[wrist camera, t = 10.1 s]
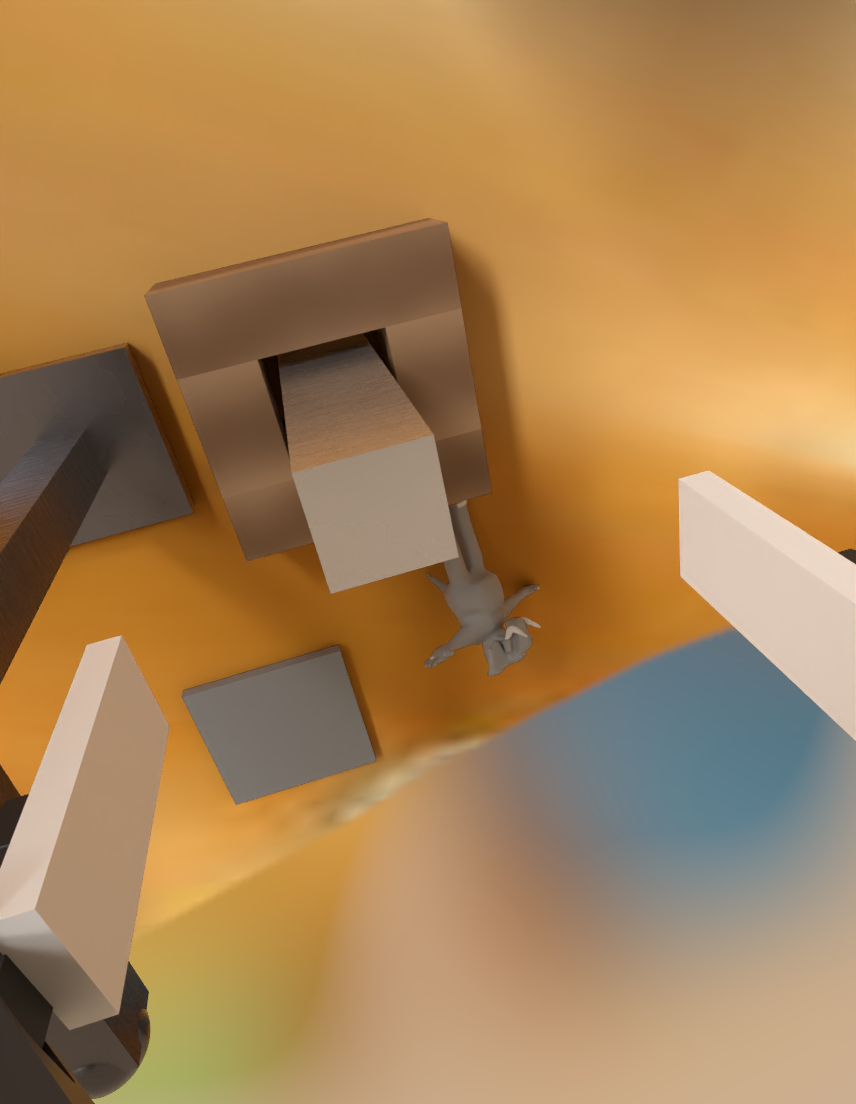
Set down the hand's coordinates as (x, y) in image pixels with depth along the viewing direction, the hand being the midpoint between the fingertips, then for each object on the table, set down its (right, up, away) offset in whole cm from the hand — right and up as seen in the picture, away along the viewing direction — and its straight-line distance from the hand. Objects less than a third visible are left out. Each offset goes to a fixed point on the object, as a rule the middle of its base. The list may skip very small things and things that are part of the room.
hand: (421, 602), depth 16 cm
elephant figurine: (+2, 0, +23) cm, 23 cm away
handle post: (-16, +6, +16) cm, 23 cm away
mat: (-8, -9, +25) cm, 28 cm away
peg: (-4, +9, +17) cm, 20 cm away
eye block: (-4, +9, +17) cm, 19 cm away
